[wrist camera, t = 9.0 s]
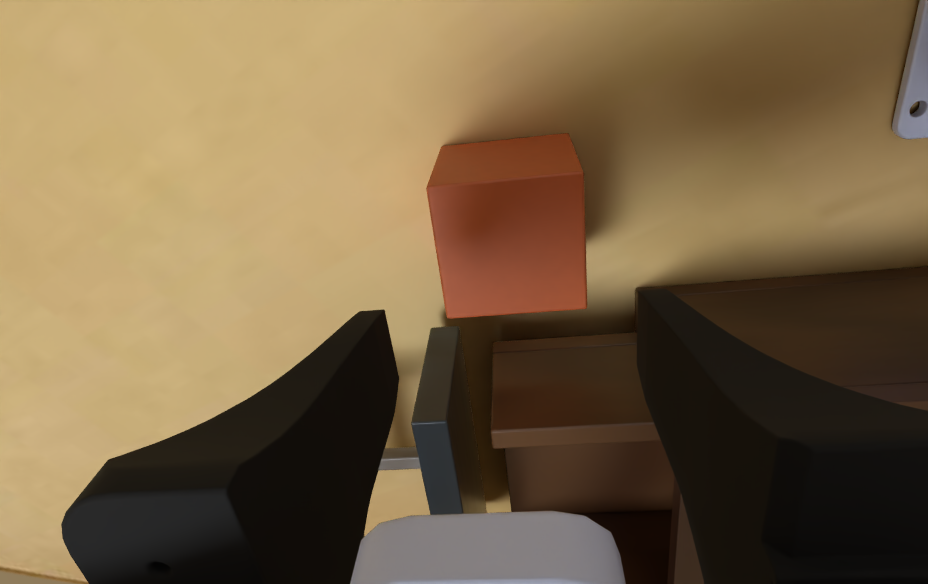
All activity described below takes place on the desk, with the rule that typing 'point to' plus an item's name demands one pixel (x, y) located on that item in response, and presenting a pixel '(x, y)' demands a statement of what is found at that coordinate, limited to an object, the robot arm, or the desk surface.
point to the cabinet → (818, 345)
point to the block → (509, 226)
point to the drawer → (549, 439)
